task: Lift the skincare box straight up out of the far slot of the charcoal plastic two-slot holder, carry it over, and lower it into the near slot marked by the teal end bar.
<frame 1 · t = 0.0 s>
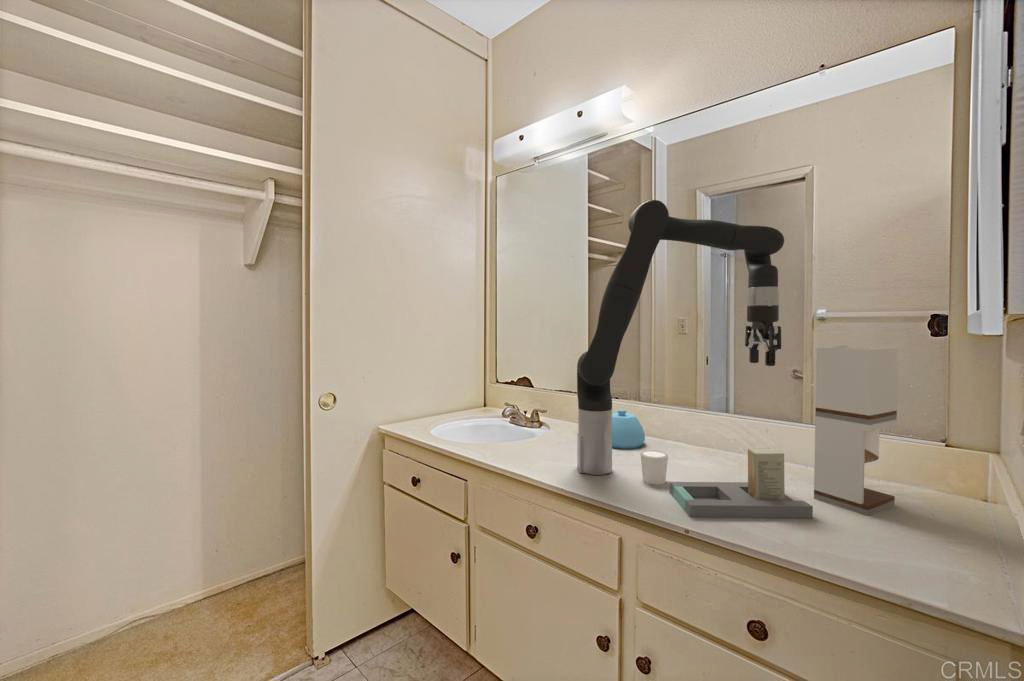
hand: (761, 364, 122), 29 cm above the worktop, tool pointing down, fingers open, 8 cm apart
skincare box: (765, 505, 100), resting in slot holder
white tapered cup: (654, 481, 116), on the worktop
sugar bowl: (621, 444, 152), on the worktop
slot holder: (735, 504, 101), on the worktop
coffee maker: (853, 502, 102), on the worktop
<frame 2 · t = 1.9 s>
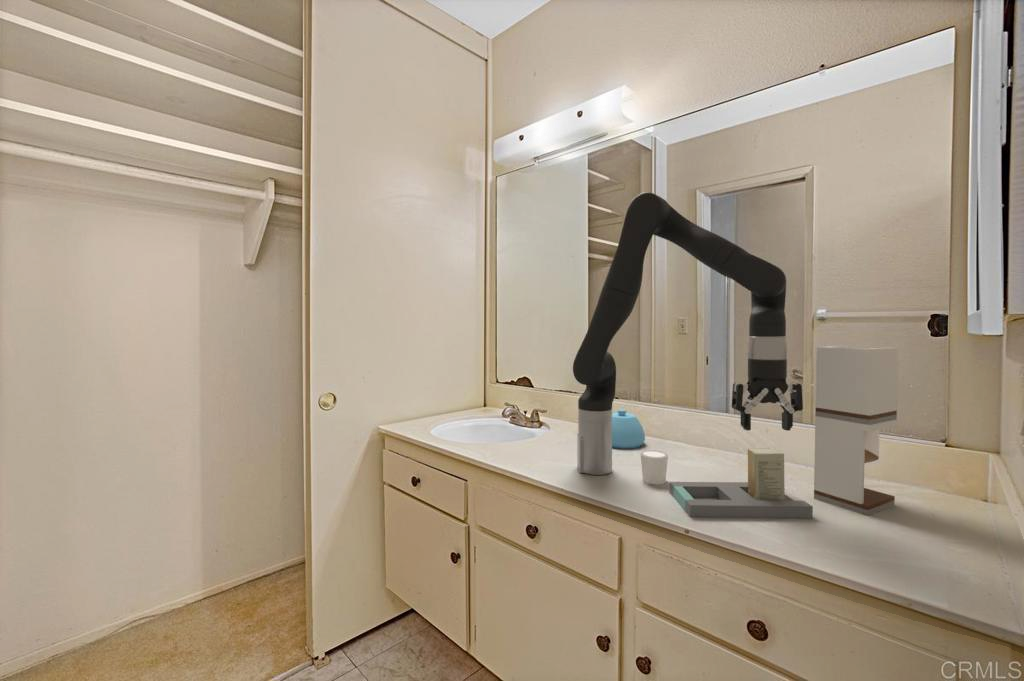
hand: (766, 429, 100), 17 cm above the worktop, tool pointing down, fingers open, 8 cm apart
nothing on the worktop moved.
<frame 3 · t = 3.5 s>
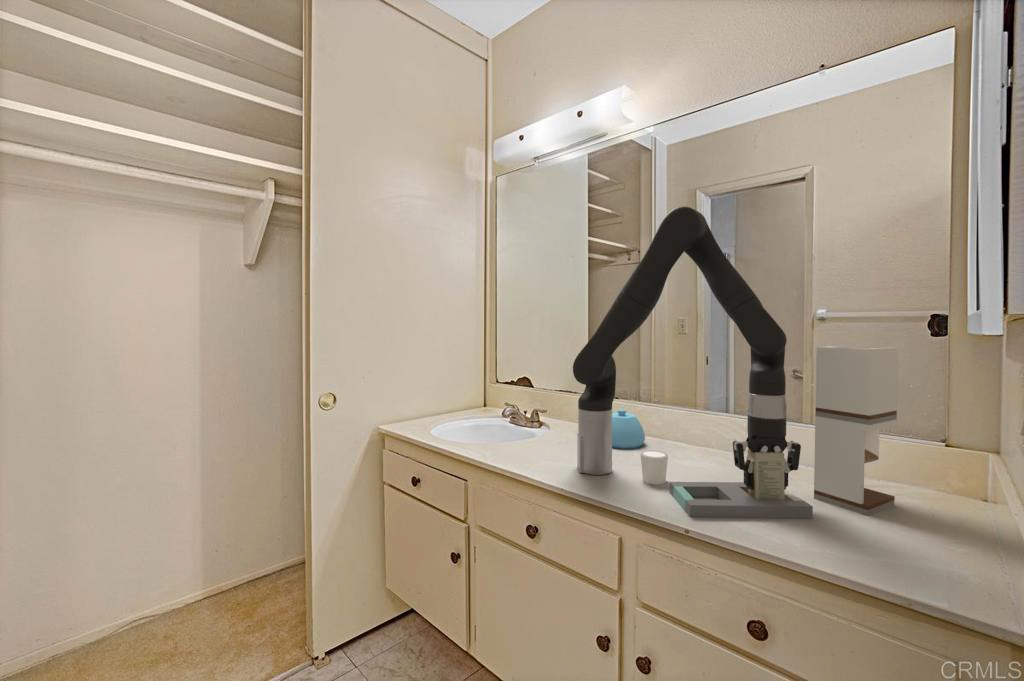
hand: (765, 487, 100), 4 cm above the worktop, tool pointing down, fingers closed on skincare box, 6 cm apart
skincare box: (765, 505, 100), resting in slot holder, touching gripper
everything else where it was.
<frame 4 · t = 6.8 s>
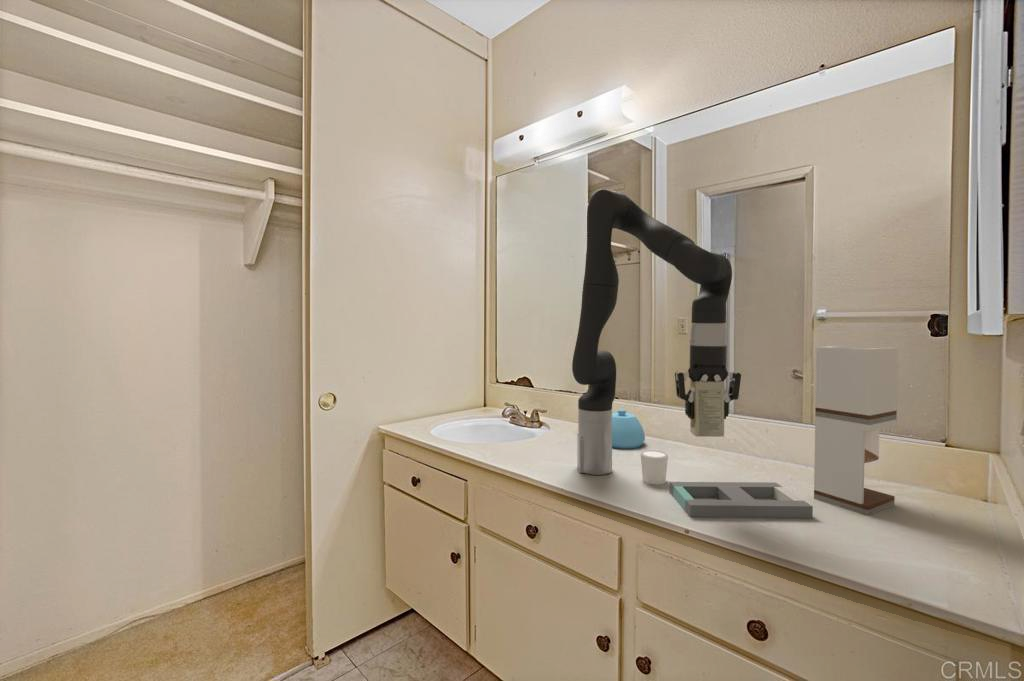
hand: (706, 418, 100), 19 cm above the worktop, tool pointing down, fingers closed on skincare box, 6 cm apart
skincare box: (706, 435, 101), point 15 cm above the worktop, touching gripper
everything else where it was.
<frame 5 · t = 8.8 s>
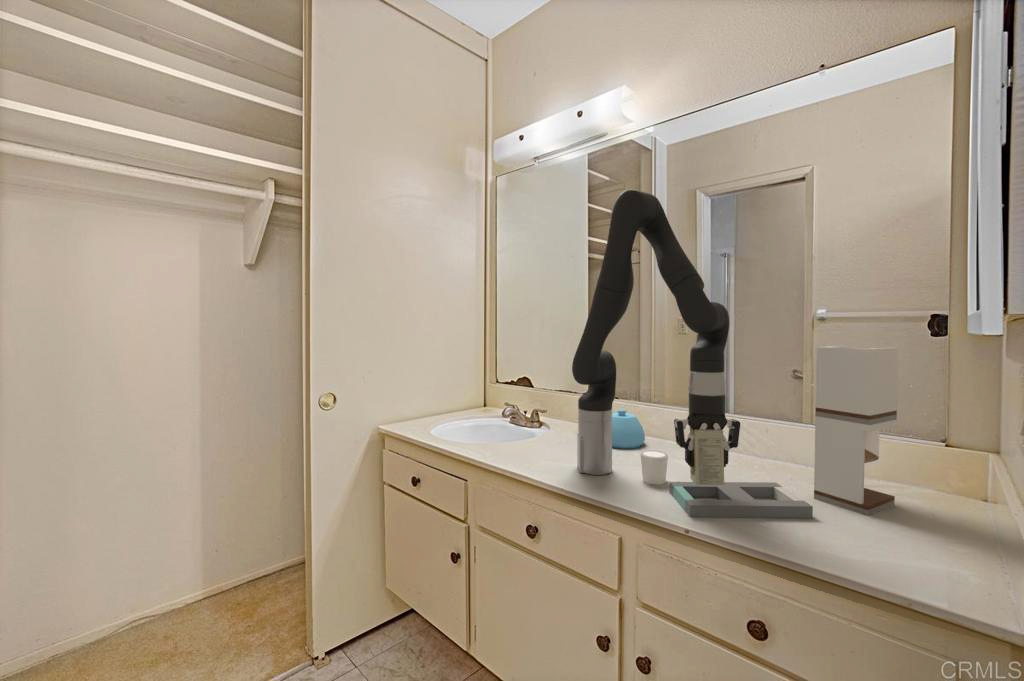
hand: (706, 465, 101), 9 cm above the worktop, tool pointing down, fingers closed on skincare box, 6 cm apart
skincare box: (706, 483, 101), point 5 cm above the worktop, touching gripper
everything else where it was.
when the fingers open (5 cm above the worktop, at t = 10.2 s): skincare box stays where it is, resting in slot holder.
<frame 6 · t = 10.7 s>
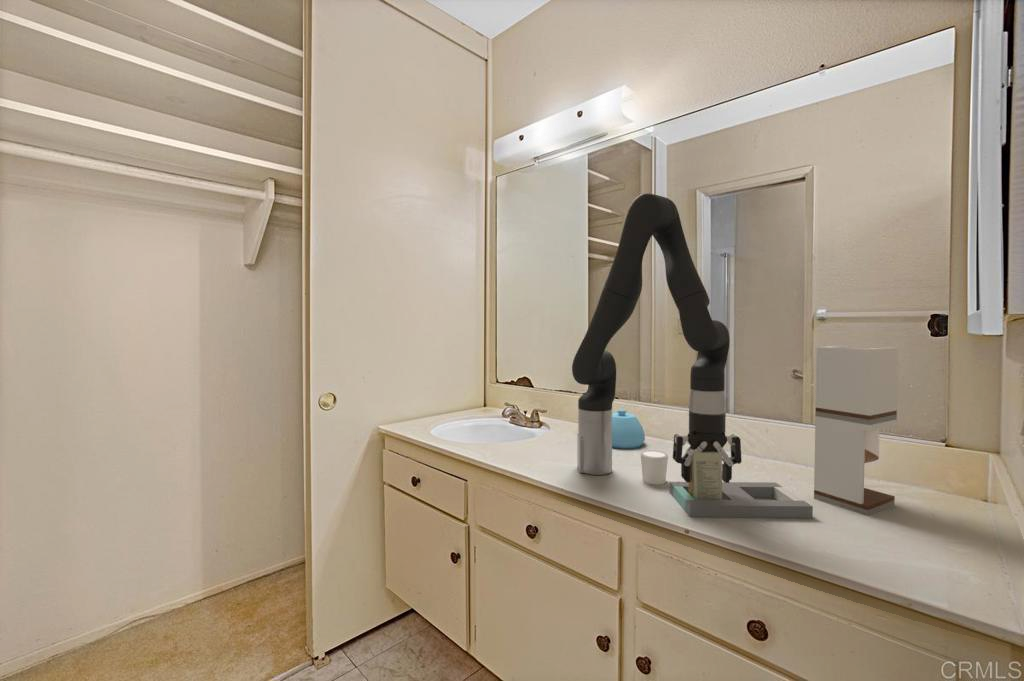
hand: (706, 481, 101), 5 cm above the worktop, tool pointing down, fingers open, 8 cm apart
skincare box: (704, 504, 101), resting in slot holder
everything else where it was.
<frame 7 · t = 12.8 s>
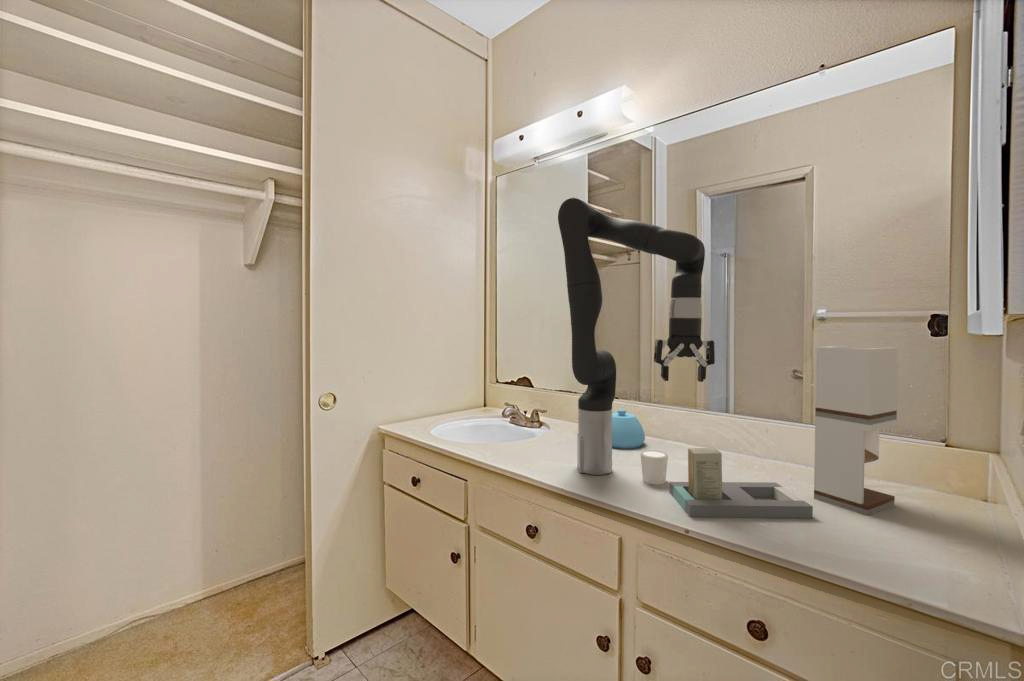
hand: (683, 381, 113), 26 cm above the worktop, tool pointing down, fingers open, 8 cm apart
nothing on the worktop moved.
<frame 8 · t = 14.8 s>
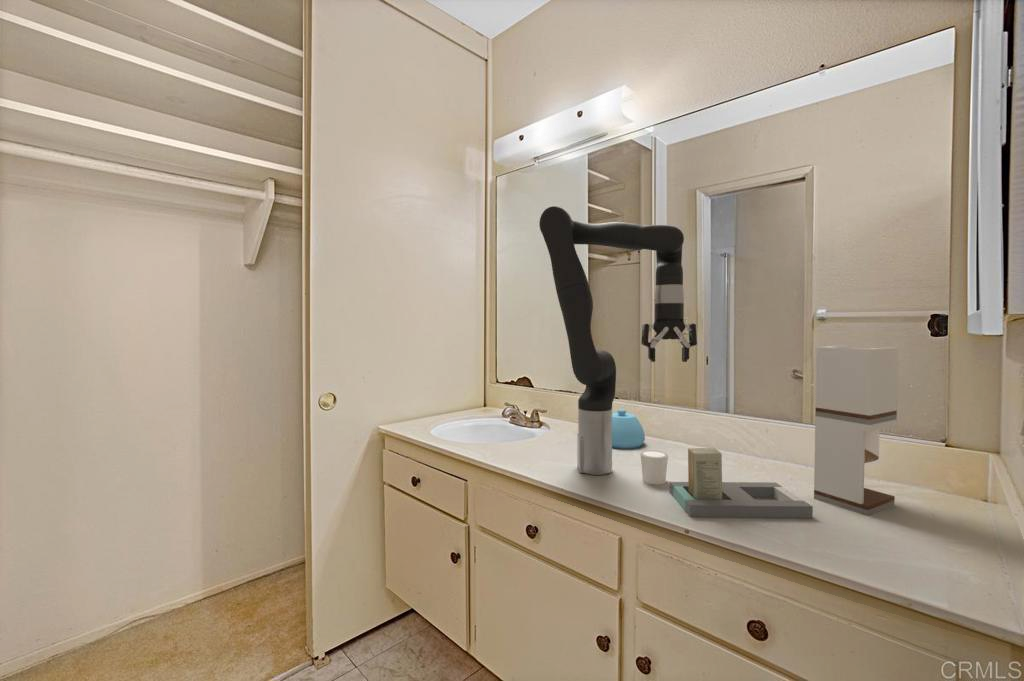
hand: (668, 361, 123), 30 cm above the worktop, tool pointing down, fingers open, 8 cm apart
nothing on the worktop moved.
at the end: skincare box 0.4 cm from the target spot on the slot holder, point 0.0 cm above the slot holder's base; skincare box tilted 0°; the gripper is holding nothing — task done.
